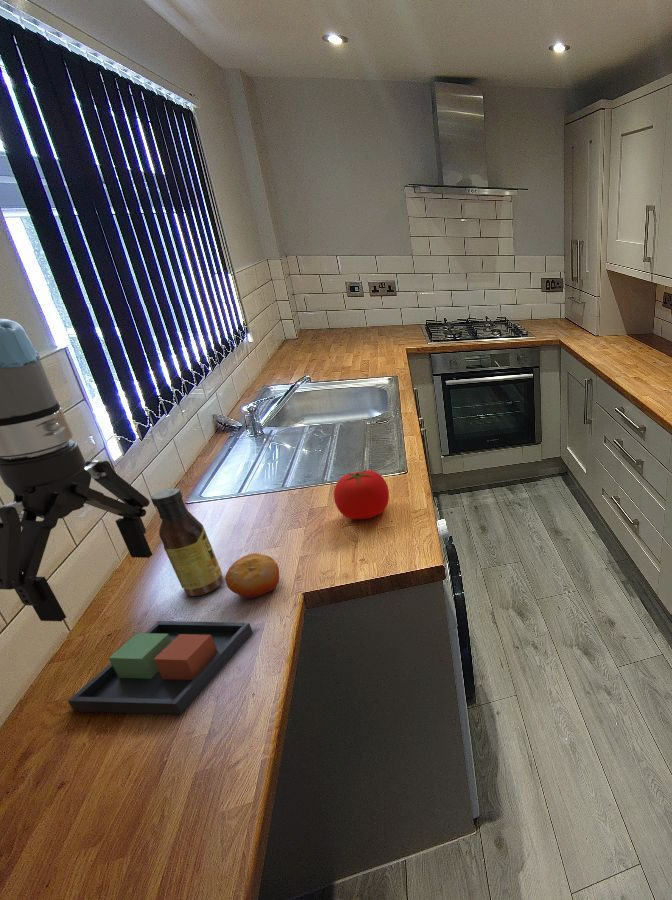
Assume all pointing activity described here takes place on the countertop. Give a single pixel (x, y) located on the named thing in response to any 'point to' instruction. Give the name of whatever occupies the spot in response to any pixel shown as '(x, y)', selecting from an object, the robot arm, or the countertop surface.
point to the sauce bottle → (186, 544)
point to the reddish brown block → (185, 656)
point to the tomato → (361, 494)
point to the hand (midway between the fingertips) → (101, 585)
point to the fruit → (252, 575)
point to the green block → (139, 655)
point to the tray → (158, 692)
